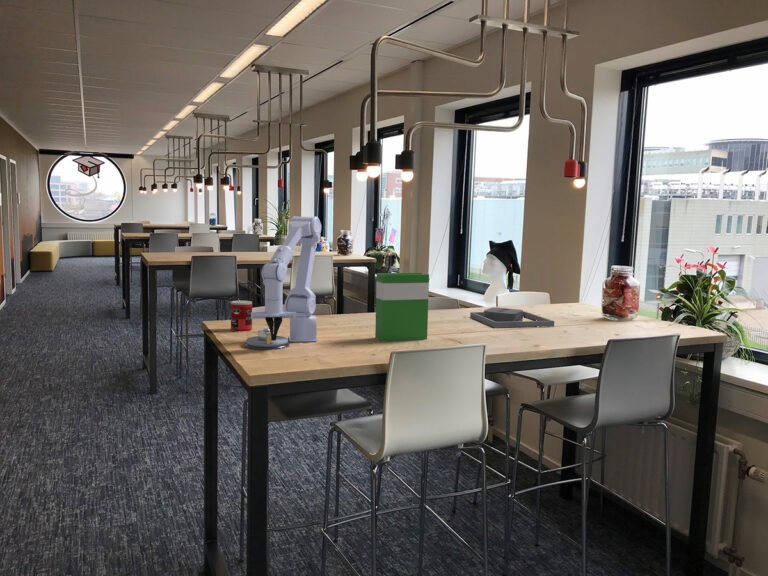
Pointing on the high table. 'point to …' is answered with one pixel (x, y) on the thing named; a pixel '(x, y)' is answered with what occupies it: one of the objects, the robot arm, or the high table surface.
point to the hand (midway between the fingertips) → (273, 339)
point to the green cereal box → (401, 306)
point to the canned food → (241, 315)
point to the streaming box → (503, 314)
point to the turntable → (267, 341)
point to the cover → (263, 334)
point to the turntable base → (266, 347)
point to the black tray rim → (540, 321)
